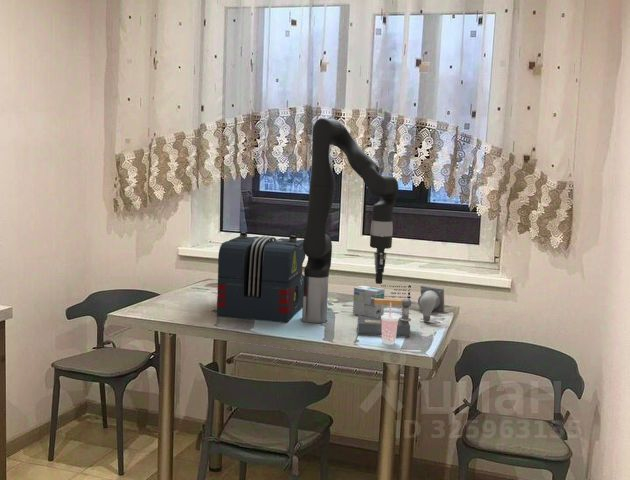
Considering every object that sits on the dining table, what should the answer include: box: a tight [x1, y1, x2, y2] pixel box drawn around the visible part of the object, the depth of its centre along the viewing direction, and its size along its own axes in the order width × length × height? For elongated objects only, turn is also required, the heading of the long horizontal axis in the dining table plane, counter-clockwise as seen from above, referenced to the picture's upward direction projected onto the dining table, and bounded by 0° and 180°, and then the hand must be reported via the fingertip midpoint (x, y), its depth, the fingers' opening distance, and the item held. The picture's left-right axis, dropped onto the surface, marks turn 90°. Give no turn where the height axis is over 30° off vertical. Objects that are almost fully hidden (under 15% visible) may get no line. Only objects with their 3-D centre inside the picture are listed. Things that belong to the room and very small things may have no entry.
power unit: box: [216, 231, 306, 323], centre depth 264 cm, size 28×28×30 cm
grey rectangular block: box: [356, 306, 412, 338], centre depth 242 cm, size 19×10×9 cm, turn 89°
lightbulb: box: [420, 294, 436, 323], centre depth 259 cm, size 6×6×11 cm
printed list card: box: [380, 284, 445, 312], centre depth 278 cm, size 27×11×10 cm, turn 91°
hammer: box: [370, 297, 412, 307], centre depth 244 cm, size 15×4×2 cm, turn 89°
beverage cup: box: [380, 302, 400, 345], centre depth 229 cm, size 6×6×14 cm
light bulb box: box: [352, 285, 386, 317], centre depth 267 cm, size 11×7×11 cm, turn 56°
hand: (378, 283), depth 235 cm, fingers closed
